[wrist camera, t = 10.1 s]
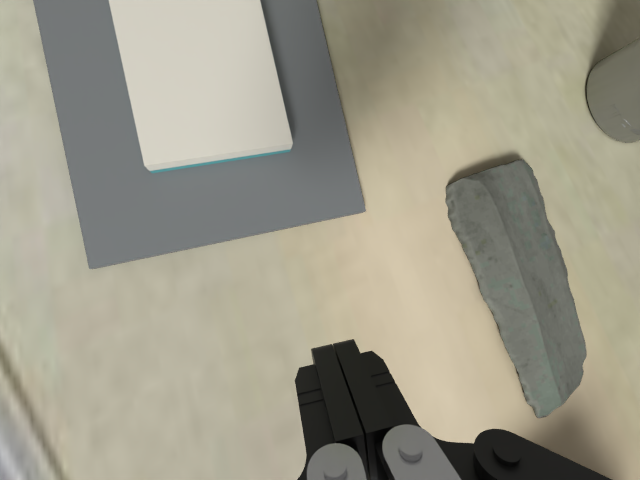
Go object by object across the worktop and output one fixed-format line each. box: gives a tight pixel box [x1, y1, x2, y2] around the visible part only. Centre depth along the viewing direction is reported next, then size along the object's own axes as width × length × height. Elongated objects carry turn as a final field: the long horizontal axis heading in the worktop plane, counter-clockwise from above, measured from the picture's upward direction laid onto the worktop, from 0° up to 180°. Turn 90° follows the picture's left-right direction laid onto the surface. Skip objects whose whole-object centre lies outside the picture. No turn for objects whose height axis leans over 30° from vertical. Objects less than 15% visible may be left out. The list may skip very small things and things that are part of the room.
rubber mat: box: [33, 0, 366, 269], centre depth 25 cm, size 20×20×1 cm
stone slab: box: [446, 159, 586, 418], centre depth 30 cm, size 22×3×10 cm
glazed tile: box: [109, 0, 293, 173], centre depth 24 cm, size 2×10×13 cm
